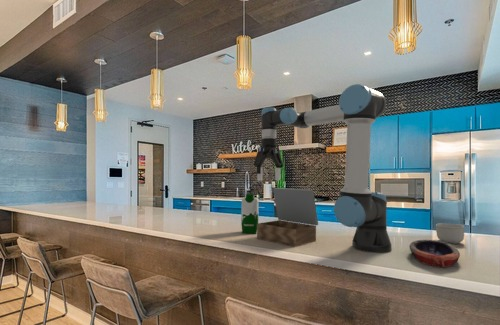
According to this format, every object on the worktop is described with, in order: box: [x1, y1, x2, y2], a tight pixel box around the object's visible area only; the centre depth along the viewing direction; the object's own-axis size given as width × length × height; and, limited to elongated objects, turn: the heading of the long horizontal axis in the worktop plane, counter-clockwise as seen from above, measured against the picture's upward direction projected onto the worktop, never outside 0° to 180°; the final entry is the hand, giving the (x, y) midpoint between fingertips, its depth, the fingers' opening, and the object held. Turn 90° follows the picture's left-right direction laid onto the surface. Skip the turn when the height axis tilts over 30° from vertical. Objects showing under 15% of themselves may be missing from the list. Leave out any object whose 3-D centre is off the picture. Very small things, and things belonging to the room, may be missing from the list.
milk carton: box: [240, 193, 260, 235], centre depth 156 cm, size 9×9×20 cm
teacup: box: [435, 222, 465, 245], centre depth 138 cm, size 14×11×8 cm
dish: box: [409, 239, 461, 268], centre depth 110 cm, size 16×31×5 cm, turn 151°
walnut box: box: [256, 219, 317, 248], centre depth 139 cm, size 22×16×7 cm
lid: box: [272, 187, 319, 226], centre depth 144 cm, size 23×17×2 cm
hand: (269, 180), depth 151 cm, fingers open, 13 cm apart
